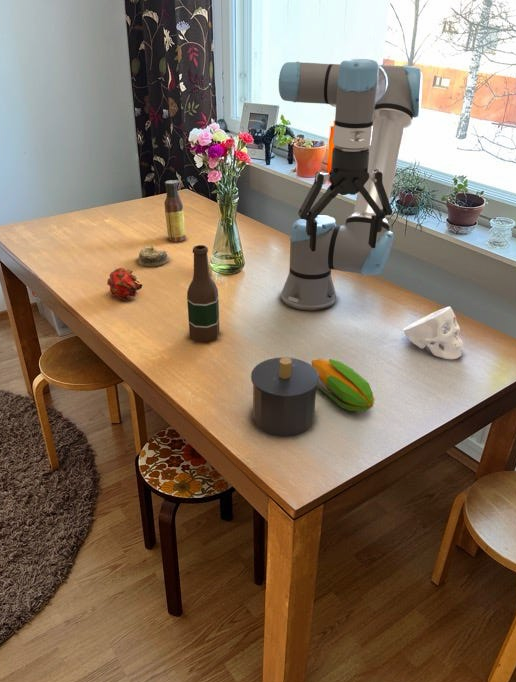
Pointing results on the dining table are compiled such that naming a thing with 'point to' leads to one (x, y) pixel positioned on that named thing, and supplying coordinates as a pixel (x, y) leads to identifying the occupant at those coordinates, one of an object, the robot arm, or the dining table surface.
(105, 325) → the dining table surface
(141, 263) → the grey rough lump
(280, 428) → the pot
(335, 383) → the corn
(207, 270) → the beer bottle
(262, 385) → the pot lid
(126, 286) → the dragon fruit
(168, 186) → the sauce bottle
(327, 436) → the dining table surface
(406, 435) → the dining table surface
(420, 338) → the skull bowl
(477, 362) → the dining table surface
